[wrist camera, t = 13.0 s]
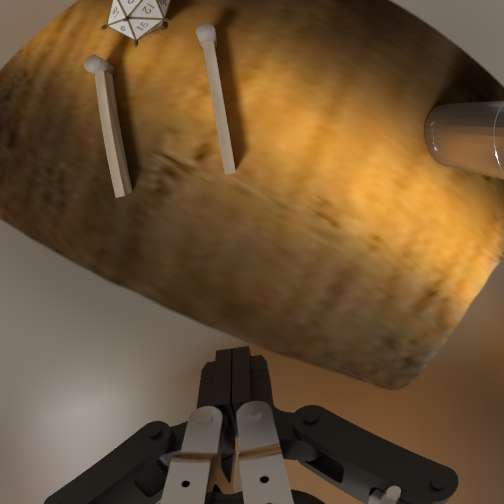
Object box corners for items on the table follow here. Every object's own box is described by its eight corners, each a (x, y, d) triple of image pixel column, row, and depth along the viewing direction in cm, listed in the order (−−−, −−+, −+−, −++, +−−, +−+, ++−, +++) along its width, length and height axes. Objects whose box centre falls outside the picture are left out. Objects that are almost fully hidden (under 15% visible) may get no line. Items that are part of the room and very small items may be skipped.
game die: (141, 29, 33) (88, -3, 24) (189, -6, 29) (139, -47, 20) (141, 69, 31) (78, 34, 22) (197, 30, 28) (137, -19, 19)
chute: (216, 36, 31) (213, 21, 26) (239, 169, 37) (239, 173, 32) (100, 66, 31) (83, 58, 26) (121, 194, 37) (106, 201, 32)
